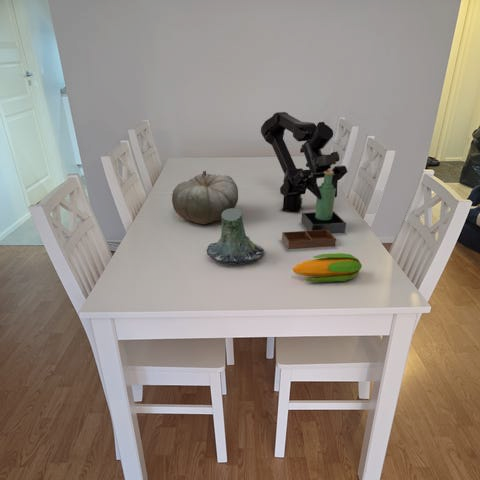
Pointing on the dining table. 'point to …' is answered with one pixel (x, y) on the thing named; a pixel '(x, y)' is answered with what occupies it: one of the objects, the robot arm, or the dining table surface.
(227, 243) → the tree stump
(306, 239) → the wooden box
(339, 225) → the tray
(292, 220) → the dining table surface
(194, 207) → the gourd
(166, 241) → the dining table surface
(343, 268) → the corn
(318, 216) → the green corked bottle
